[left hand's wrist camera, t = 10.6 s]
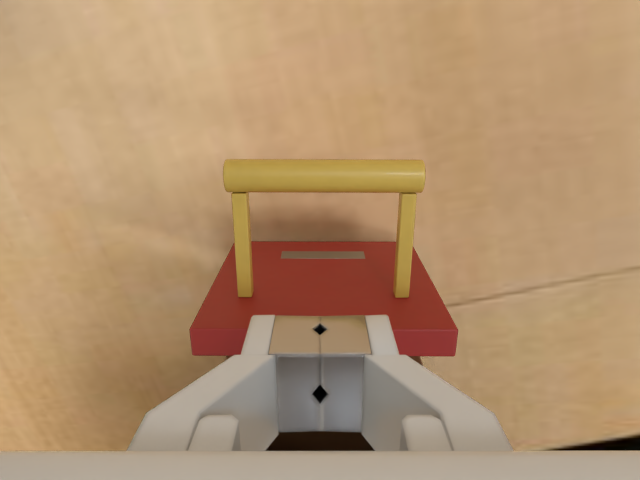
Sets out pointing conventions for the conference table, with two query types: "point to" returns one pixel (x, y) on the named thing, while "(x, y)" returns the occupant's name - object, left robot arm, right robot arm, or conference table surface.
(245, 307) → the drawer
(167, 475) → the left robot arm
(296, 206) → the conference table surface
